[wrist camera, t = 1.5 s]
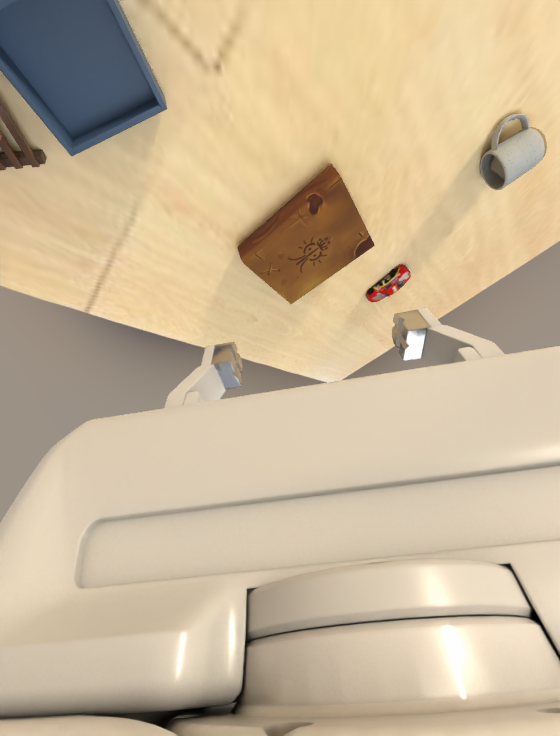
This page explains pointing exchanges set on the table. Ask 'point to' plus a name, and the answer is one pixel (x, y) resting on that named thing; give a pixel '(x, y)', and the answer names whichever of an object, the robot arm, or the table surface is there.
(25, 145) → the drying rack
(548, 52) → the table surface
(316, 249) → the diary
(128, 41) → the tray
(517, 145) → the ceramic mug
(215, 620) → the robot arm
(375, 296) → the race car
